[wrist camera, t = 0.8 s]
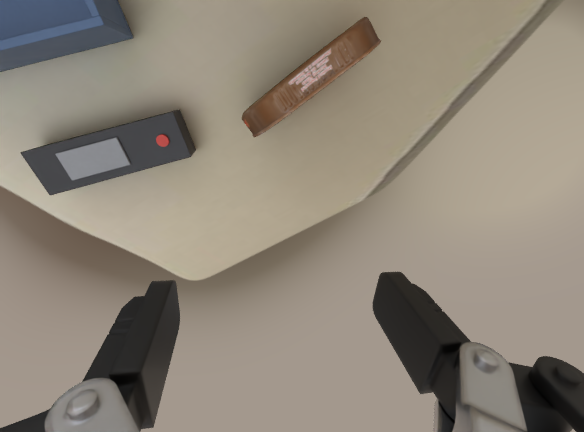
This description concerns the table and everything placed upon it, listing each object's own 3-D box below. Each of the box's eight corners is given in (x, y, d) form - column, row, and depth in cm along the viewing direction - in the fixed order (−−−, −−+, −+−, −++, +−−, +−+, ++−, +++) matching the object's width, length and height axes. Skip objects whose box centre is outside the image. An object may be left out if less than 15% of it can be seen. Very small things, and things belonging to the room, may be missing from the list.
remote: (42, 145, 29) (17, 153, 26) (179, 109, 30) (172, 112, 27) (68, 185, 32) (47, 196, 28) (195, 150, 32) (190, 157, 29)
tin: (254, 133, 32) (257, 147, 25) (236, 110, 31) (235, 117, 24) (361, 51, 31) (400, 39, 23) (347, 22, 29) (384, 0, 22)
